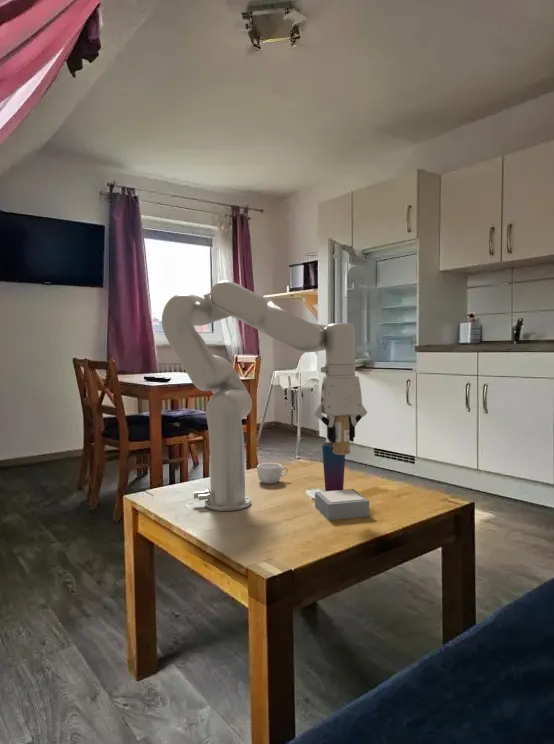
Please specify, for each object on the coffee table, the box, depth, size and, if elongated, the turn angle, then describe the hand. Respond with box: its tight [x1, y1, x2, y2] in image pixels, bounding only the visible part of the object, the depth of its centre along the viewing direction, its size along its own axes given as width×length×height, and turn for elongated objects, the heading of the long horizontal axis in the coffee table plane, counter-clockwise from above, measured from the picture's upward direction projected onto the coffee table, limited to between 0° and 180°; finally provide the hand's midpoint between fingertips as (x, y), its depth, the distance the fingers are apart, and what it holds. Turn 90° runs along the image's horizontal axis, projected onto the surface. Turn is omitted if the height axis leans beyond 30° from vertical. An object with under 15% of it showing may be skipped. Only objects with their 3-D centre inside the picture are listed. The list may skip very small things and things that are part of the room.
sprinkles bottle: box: [333, 415, 351, 456], centre depth 134 cm, size 5×5×13 cm
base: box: [314, 488, 370, 521], centre depth 135 cm, size 11×11×4 cm
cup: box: [321, 441, 346, 491], centre depth 149 cm, size 7×7×15 cm
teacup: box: [256, 462, 289, 485], centre depth 164 cm, size 10×8×5 cm
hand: (341, 440), depth 134 cm, fingers closed on sprinkles bottle, 4 cm apart
